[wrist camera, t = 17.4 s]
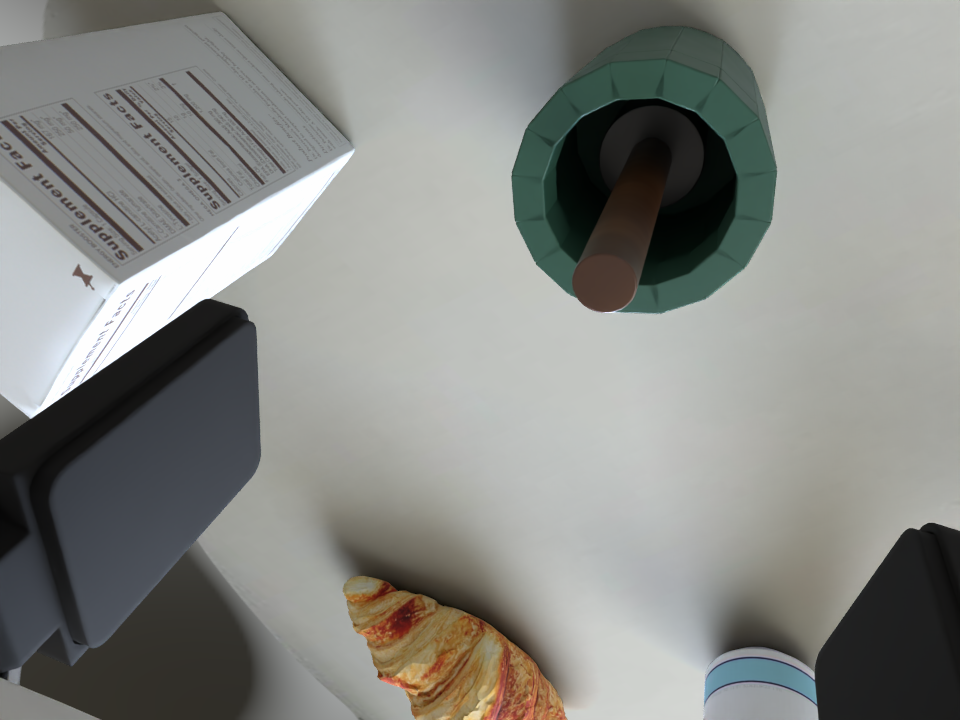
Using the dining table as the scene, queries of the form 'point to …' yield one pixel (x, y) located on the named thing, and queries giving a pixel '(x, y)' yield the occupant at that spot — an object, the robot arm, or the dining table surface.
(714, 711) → the beverage can
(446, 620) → the croissant
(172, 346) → the robot arm
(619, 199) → the dowel with disc base
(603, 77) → the jar
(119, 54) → the supplement box
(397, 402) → the dining table surface
